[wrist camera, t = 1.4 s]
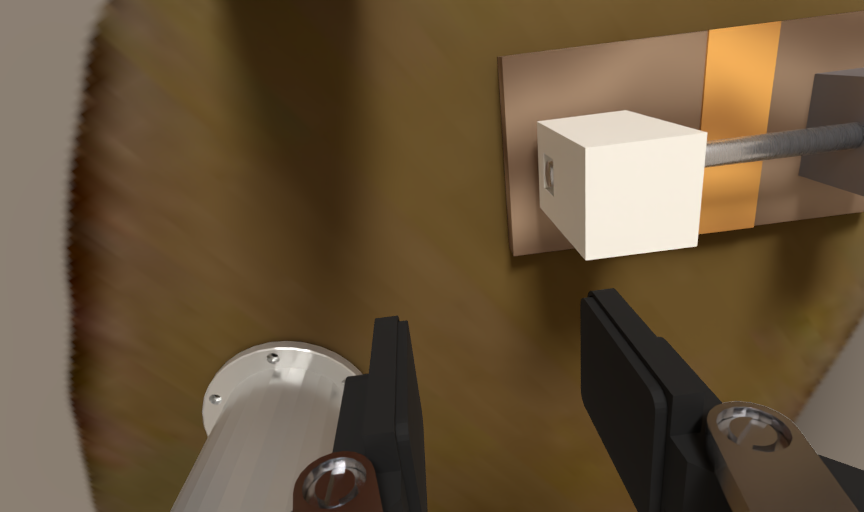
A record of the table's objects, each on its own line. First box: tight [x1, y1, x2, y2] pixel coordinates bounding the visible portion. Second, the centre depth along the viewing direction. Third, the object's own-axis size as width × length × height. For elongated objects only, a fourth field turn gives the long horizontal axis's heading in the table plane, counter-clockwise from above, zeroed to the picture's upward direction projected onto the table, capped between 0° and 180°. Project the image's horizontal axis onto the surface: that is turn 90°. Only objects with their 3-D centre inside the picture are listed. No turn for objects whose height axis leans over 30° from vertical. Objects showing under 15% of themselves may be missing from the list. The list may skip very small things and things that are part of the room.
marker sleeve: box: [537, 110, 707, 260], centre depth 25 cm, size 5×5×8 cm
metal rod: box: [545, 122, 864, 188], centre depth 27 cm, size 1×16×1 cm, turn 97°
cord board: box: [497, 11, 864, 256], centre depth 31 cm, size 12×24×2 cm, turn 97°
